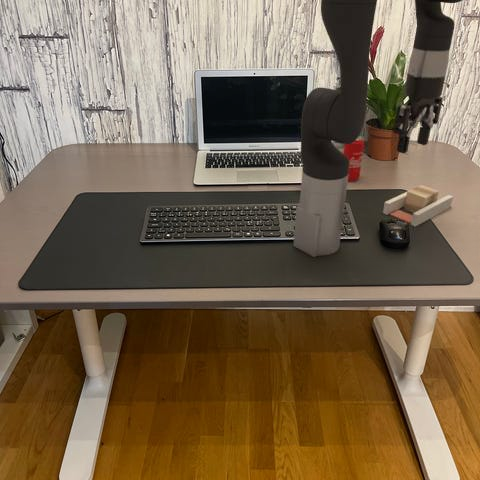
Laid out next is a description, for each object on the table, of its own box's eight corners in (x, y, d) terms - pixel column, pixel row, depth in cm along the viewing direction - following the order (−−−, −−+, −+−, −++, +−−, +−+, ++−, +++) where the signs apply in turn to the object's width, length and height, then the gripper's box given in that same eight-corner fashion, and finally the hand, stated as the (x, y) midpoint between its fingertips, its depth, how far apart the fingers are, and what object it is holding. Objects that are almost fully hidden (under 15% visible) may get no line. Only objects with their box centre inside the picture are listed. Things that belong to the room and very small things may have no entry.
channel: (415, 226, 115) (417, 215, 114) (382, 213, 121) (384, 202, 120) (450, 207, 124) (453, 196, 123) (418, 195, 130) (421, 185, 129)
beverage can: (358, 175, 142) (363, 134, 136) (360, 182, 137) (365, 141, 131) (339, 174, 142) (344, 134, 136) (341, 181, 138) (346, 140, 132)
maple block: (421, 216, 120) (425, 198, 117) (403, 209, 123) (407, 191, 121) (434, 209, 123) (438, 191, 121) (417, 202, 127) (420, 184, 124)
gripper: (428, 64, 108) (414, 137, 116) (391, 73, 99) (378, 150, 108) (461, 70, 103) (444, 145, 111) (424, 79, 95) (408, 160, 103)
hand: (412, 148), depth 109 cm, fingers open, 7 cm apart
